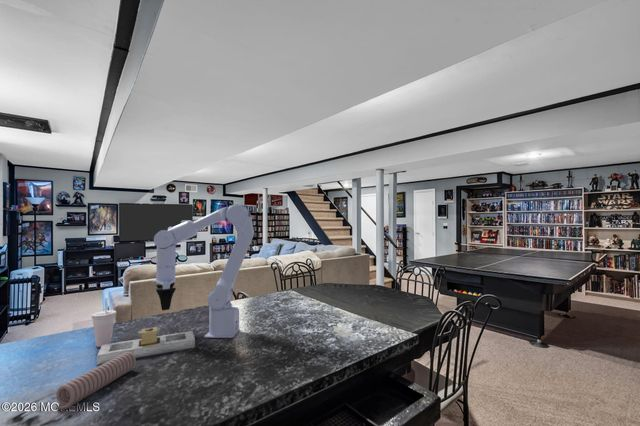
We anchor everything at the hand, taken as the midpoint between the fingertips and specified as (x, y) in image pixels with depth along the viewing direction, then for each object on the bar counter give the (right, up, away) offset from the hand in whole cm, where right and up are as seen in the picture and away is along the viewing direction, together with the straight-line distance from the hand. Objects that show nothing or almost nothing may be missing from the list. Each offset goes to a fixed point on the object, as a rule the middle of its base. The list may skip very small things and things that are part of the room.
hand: (165, 307), depth 102 cm
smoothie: (-15, -9, -8) cm, 20 cm away
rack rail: (+2, -9, -12) cm, 15 cm away
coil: (+1, -9, -32) cm, 34 cm away
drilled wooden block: (+1, -9, -12) cm, 15 cm away
